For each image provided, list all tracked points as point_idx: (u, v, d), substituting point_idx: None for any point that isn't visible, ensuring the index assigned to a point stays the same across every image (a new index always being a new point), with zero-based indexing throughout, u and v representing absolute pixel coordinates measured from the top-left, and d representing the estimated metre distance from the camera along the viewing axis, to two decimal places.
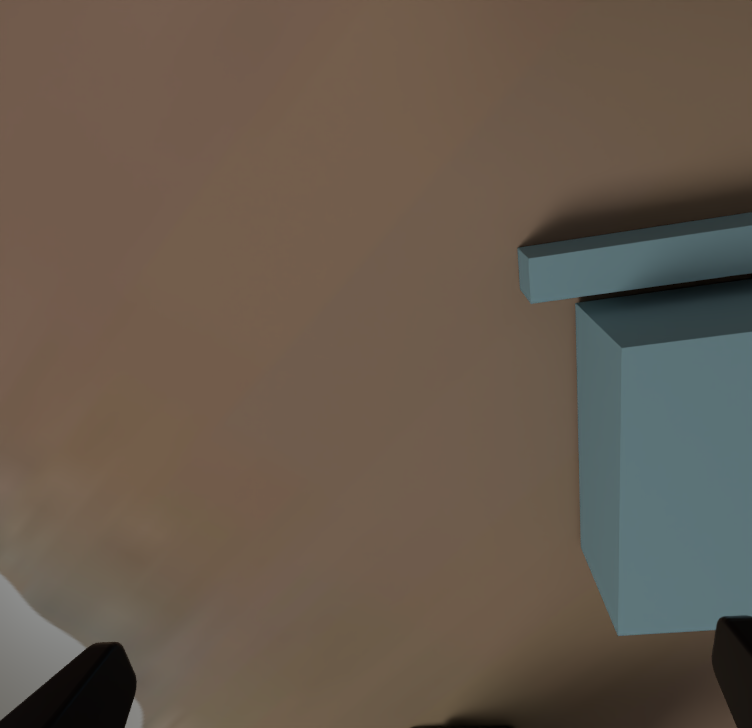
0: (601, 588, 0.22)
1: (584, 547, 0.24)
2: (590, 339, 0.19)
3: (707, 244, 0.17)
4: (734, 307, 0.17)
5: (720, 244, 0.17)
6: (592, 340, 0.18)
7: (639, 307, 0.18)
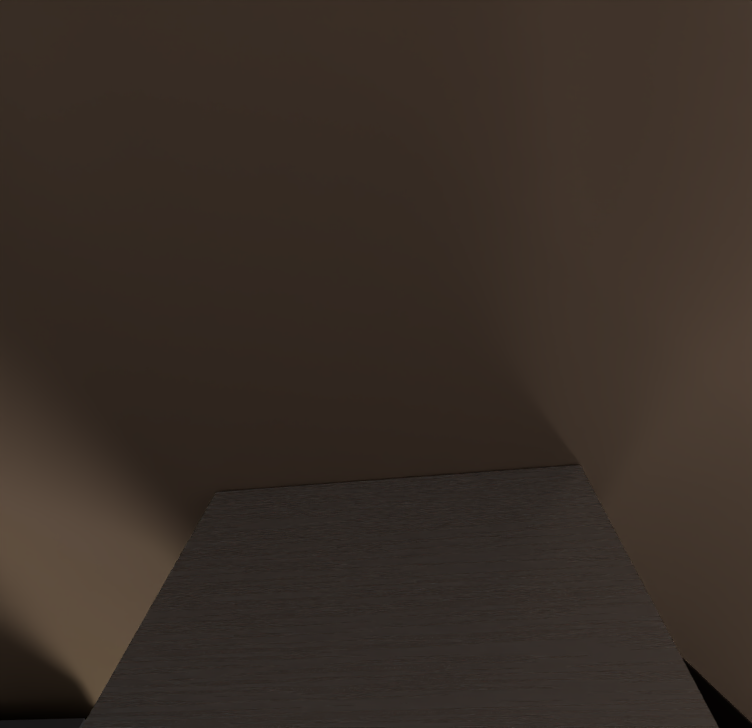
0: None
1: None
2: None
3: None
4: None
5: None
6: None
7: None
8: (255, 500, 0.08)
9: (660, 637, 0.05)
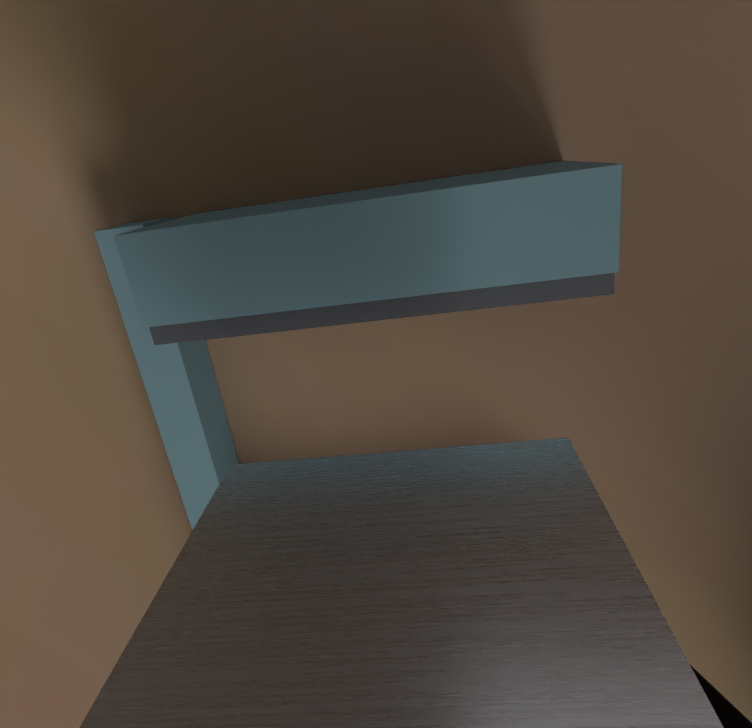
0: None
1: None
2: None
3: None
4: None
5: None
6: None
7: None
8: (266, 471, 0.09)
9: (634, 576, 0.06)
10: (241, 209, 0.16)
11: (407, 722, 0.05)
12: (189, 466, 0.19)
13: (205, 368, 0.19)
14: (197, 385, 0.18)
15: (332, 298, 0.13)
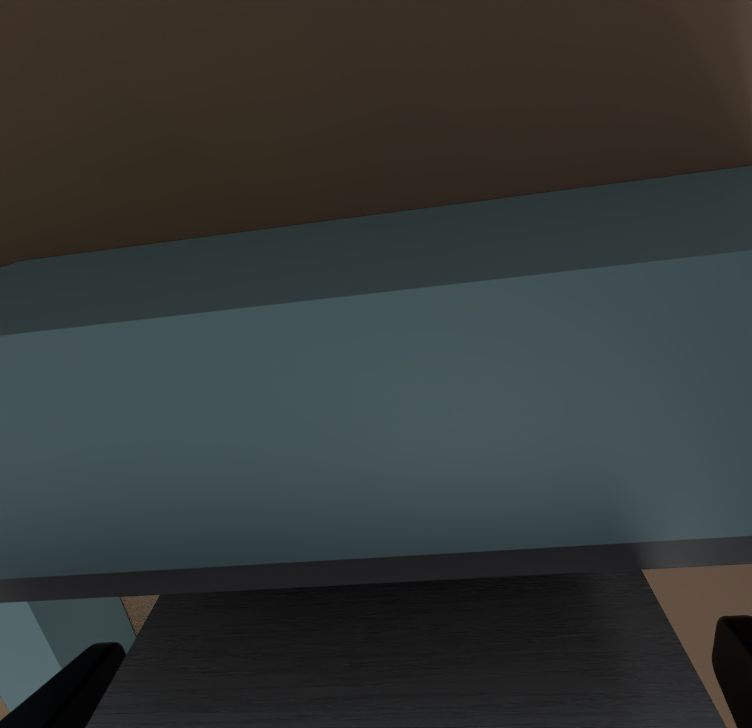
0: None
1: None
2: None
3: None
4: None
5: None
6: None
7: None
8: None
9: None
10: (87, 264, 0.07)
11: (412, 648, 0.06)
12: None
13: None
14: None
15: (256, 549, 0.05)
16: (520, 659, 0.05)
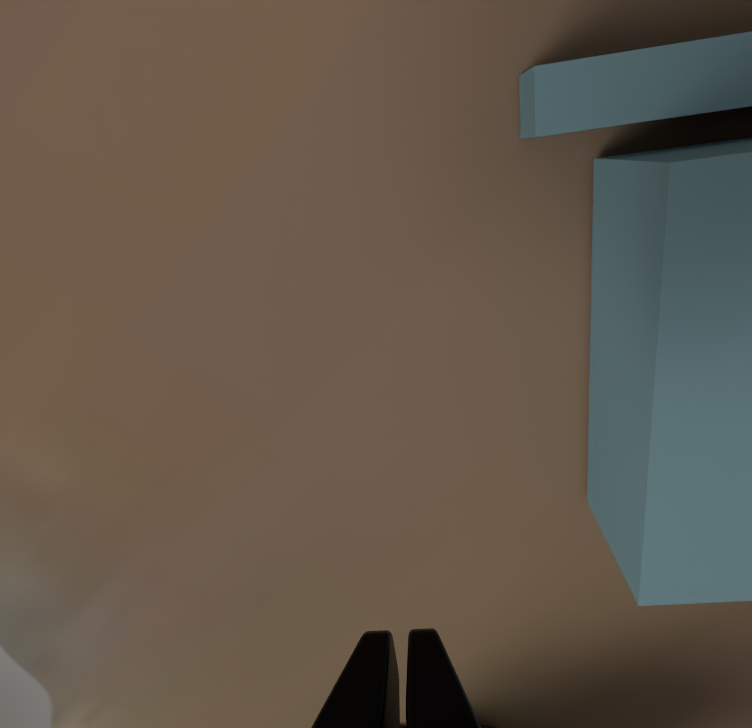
0: (615, 547, 0.17)
1: (592, 500, 0.19)
2: (615, 193, 0.14)
3: None
4: None
5: None
6: (618, 193, 0.13)
7: (683, 149, 0.13)
8: None
9: None
10: None
11: None
12: None
13: None
14: None
15: None
16: None
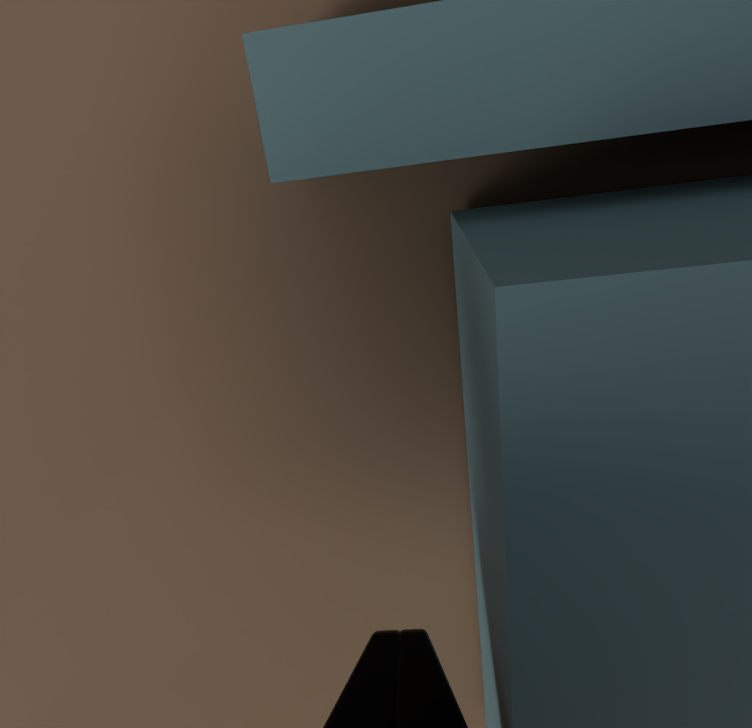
0: None
1: None
2: (464, 292, 0.07)
3: None
4: None
5: None
6: (465, 294, 0.07)
7: (598, 207, 0.07)
8: None
9: None
10: None
11: None
12: None
13: None
14: None
15: None
16: None
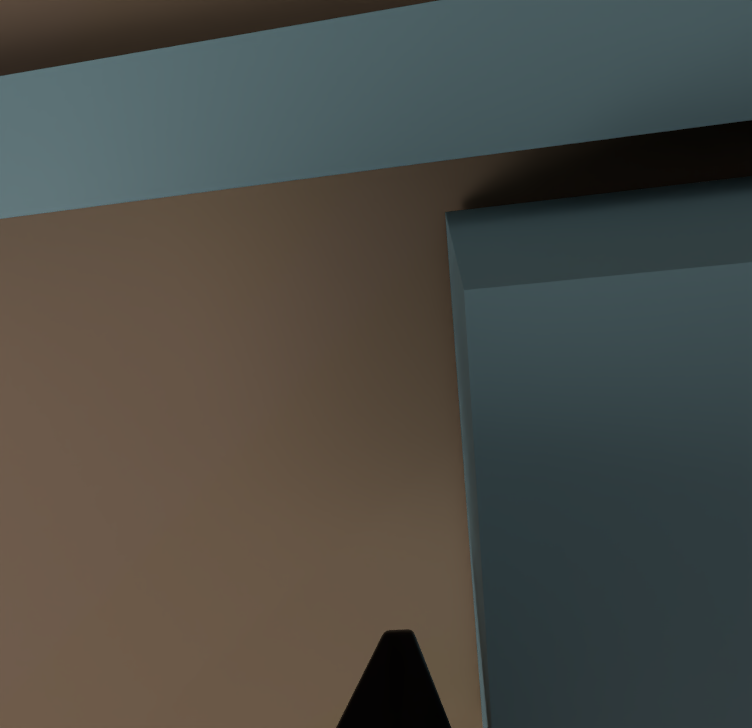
0: None
1: None
2: (454, 294, 0.07)
3: (122, 96, 0.06)
4: None
5: (155, 97, 0.06)
6: (454, 296, 0.07)
7: (590, 209, 0.07)
8: None
9: None
10: None
11: None
12: None
13: None
14: None
15: None
16: None
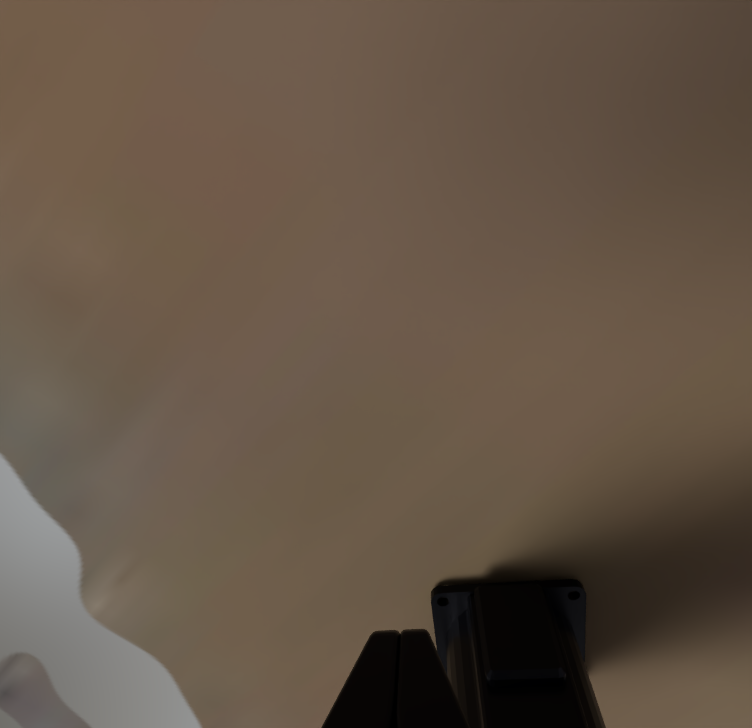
0: None
1: None
2: None
3: None
4: None
5: None
6: None
7: None
8: None
9: None
10: None
11: None
12: None
13: None
14: None
15: None
16: None
